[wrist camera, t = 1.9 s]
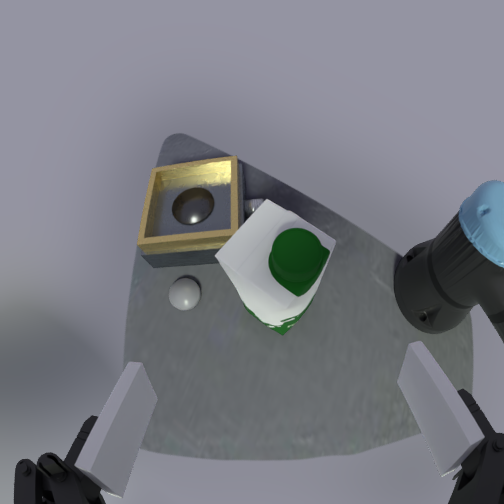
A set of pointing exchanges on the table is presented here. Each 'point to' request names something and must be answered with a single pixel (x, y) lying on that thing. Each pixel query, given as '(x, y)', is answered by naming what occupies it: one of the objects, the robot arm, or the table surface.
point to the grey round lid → (184, 294)
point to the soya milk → (276, 264)
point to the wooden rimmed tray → (193, 211)
